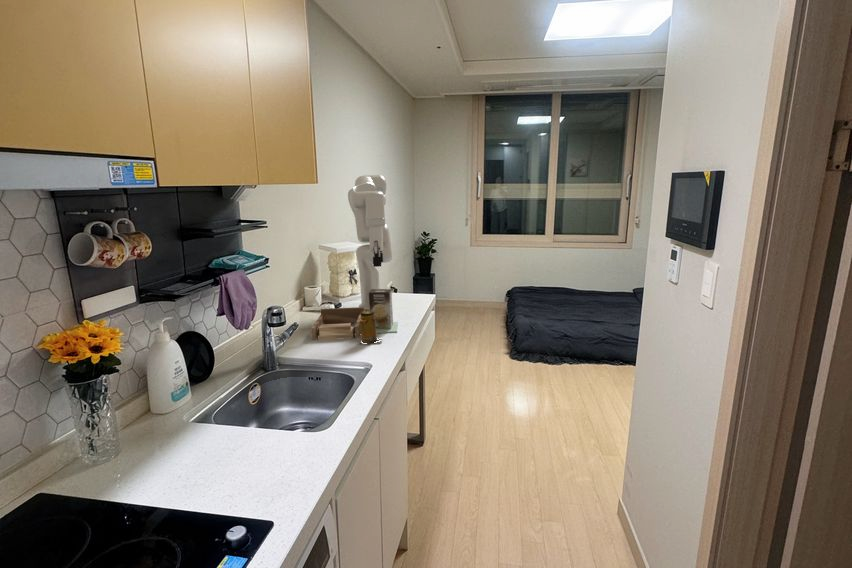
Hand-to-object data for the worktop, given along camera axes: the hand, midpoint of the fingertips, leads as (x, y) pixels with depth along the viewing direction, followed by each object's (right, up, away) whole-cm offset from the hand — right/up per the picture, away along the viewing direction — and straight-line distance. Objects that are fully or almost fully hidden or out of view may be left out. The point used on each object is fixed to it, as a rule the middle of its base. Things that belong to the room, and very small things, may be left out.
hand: (378, 264), depth 183 cm
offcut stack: (-17, -30, -3) cm, 35 cm away
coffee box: (+1, -27, +6) cm, 28 cm away
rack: (-17, -28, +5) cm, 33 cm away
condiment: (-2, -31, -9) cm, 32 cm away
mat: (+1, -27, +6) cm, 28 cm away
